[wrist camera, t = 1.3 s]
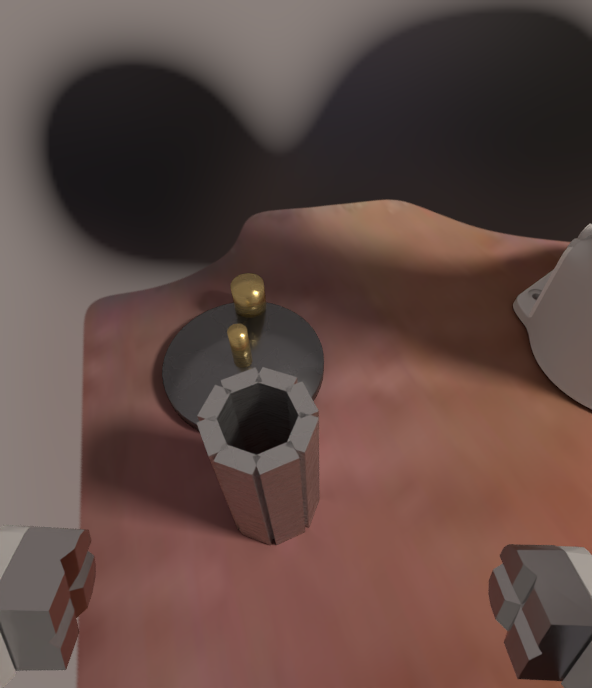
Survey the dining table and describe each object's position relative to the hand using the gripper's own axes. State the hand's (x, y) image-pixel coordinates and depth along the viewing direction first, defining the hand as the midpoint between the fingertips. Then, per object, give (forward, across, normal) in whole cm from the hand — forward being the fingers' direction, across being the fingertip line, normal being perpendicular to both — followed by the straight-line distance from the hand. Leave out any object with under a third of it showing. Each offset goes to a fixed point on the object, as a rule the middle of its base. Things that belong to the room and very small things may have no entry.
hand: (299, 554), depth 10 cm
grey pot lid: (+31, +2, +17) cm, 35 cm away
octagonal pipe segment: (+20, 0, +20) cm, 28 cm away
